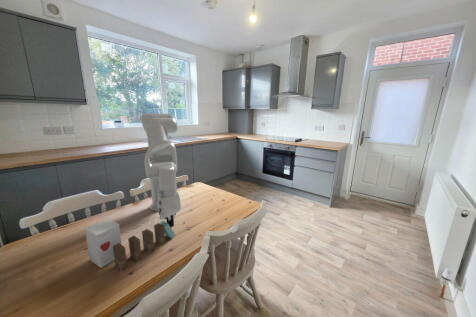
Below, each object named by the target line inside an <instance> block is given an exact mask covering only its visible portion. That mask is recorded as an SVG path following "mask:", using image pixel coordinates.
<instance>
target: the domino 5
mask: <svg viewBox="0 0 476 317" xmlns="http://www.w3.org/2000/svg"><path fill="white" fill-rule="evenodd" d="M159 224H161V225H163V226H164V229H165V237H168V238H170V239H173V238H174V237H175V236H176V234H175V232H174V230H173V229H172V227H170V226H169V224H168V223H167V221H164V220H161V221H160V222H159Z"/></svg>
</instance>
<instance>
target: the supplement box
mask: <svg viewBox="0 0 476 317" xmlns="http://www.w3.org/2000/svg"><path fill="white" fill-rule="evenodd" d="M84 231H85V232H84V233H85V237H86V244H87V250H88V259H89V261H91V262H92V263H94V264H95V265H96V266H98V267H99V268H100V269H102V268H103V267H106V266H107V265H109V264H110V263H111V262H114V261H115V259H114V252H113V246H115V245H117V244H118V243H120V244H121V245H122V238H121V236H122V235H121V228H120V224H119V223H118V222H116V221H113V220H111V219H110V218H107V219H106V218H105V219H104V220H101V221H99V222H96V223H93V225H92V224H91V225H89V226H87V227H85V228H84ZM122 246H123V245H122Z"/></svg>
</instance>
